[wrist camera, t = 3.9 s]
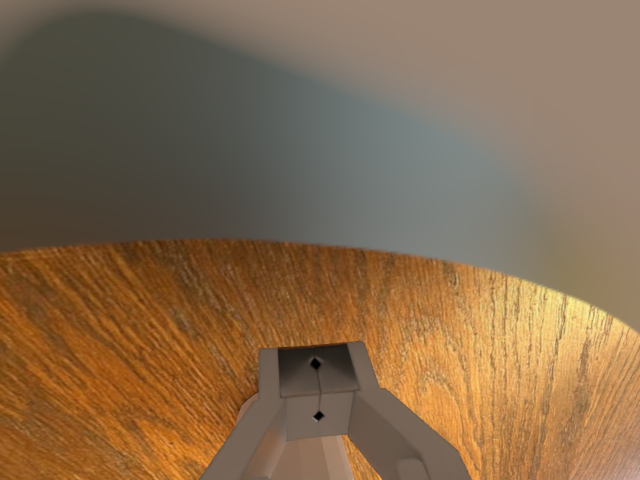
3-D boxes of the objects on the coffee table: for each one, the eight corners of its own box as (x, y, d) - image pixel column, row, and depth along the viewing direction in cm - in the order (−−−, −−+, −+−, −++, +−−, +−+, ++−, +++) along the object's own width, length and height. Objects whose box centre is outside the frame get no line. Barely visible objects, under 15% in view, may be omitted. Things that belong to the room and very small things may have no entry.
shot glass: (199, 418, 20) (175, 584, 14) (296, 358, 19) (315, 513, 13) (276, 460, 23) (283, 607, 17) (362, 411, 22) (402, 553, 16)
